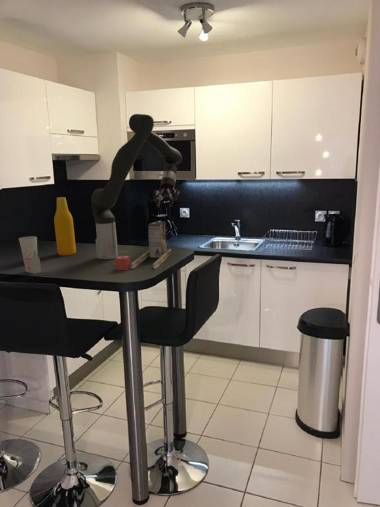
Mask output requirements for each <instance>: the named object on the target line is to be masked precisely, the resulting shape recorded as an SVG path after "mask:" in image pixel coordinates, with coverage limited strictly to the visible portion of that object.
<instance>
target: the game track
mask: <svg viewBox="0 0 380 507" xmlns="http://www.w3.org/2000/svg"><path fill="white" fill-rule="evenodd" d="M172 253H173V249H172V248H169V249H167V252H166V253H165V254H164V255H163V256H162V257H158V259H157V260H156V261H155V262H154V263H153V264H152V268H153V269H154V270H155V269H157V268H159V266H160V265H162V264H163V262H165V260H166V259H168V258H169V256H171V255H172ZM147 258H150V250H149V249H148V250H147V251H145V253H143V254H141V256H140V257H138V258H136V259H135V260H134V261H133V262H131V267H130V269H133V270H134V269H135V268H136V267H137V266H139V265H140V264H141V263H142V262H144V261H145V260H146V259H147Z"/></svg>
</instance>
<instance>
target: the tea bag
mask: <svg viewBox="0 0 380 507" xmlns="http://www.w3.org/2000/svg"><path fill="white" fill-rule="evenodd" d="M23 264H24V269H25V273H29V274H31V275H34V274H39V273H42V265H41V259H40V257H39V255H38V253H37V254H36V252H35V250H31V249H26V253H25V256H24V259H23Z"/></svg>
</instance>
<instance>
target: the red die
mask: <svg viewBox="0 0 380 507" xmlns="http://www.w3.org/2000/svg"><path fill="white" fill-rule="evenodd" d="M114 259H115V260H114V261H115V262H114V263H115V270H116V271H128V270H129V269H131V263H132V261H131V256H130V255H118V257H117V258H114Z"/></svg>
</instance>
